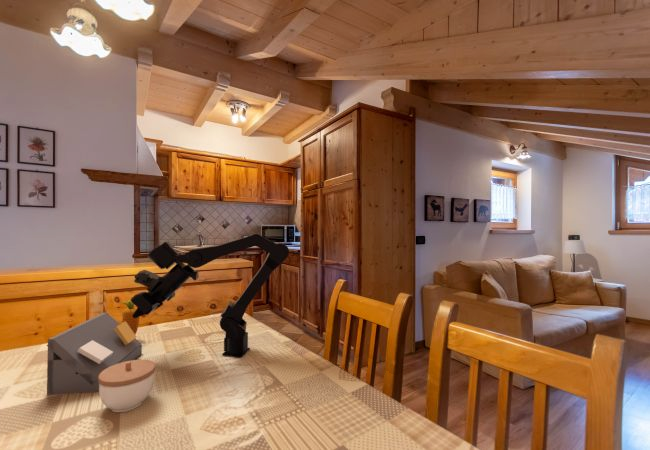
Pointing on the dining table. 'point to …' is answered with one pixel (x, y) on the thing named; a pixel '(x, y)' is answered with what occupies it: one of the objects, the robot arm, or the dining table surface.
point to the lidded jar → (126, 384)
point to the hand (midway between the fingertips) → (133, 317)
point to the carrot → (130, 316)
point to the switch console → (78, 370)
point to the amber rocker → (125, 332)
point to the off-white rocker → (95, 351)
